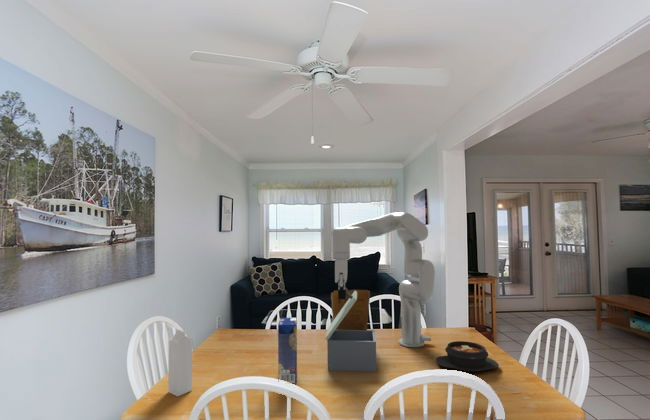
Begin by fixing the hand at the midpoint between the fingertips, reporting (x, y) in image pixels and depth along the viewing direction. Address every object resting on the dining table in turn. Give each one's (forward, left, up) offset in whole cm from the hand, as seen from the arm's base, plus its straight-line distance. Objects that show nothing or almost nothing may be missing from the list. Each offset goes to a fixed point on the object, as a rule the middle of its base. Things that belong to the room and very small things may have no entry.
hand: (342, 297), depth 160 cm
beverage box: (+21, +16, -29) cm, 39 cm away
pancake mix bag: (-3, -22, -29) cm, 36 cm away
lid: (0, 0, -8) cm, 8 cm away
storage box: (-4, 0, -28) cm, 29 cm away
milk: (+58, +31, -29) cm, 72 cm away
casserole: (-52, 0, -29) cm, 59 cm away
